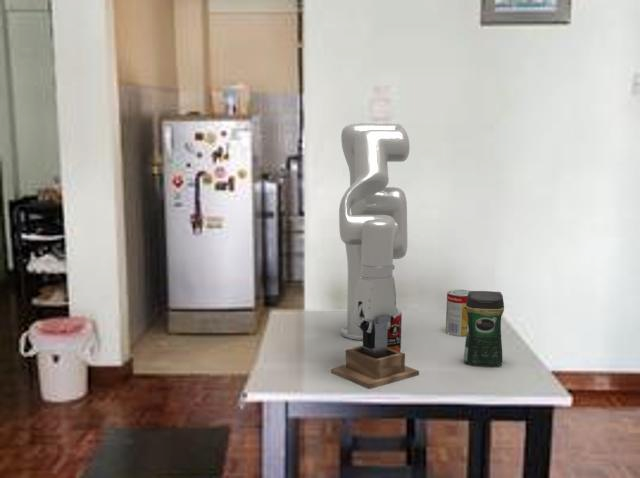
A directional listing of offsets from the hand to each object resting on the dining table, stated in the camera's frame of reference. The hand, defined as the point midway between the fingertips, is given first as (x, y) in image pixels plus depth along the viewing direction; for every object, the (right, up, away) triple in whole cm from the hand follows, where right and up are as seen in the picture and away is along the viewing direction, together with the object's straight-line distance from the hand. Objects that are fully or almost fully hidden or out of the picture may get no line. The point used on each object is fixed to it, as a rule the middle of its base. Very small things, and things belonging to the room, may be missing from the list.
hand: (375, 344), depth 180 cm
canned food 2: (+27, -2, +37) cm, 46 cm away
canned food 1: (+4, -4, +19) cm, 20 cm away
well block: (0, -7, +1) cm, 7 cm away
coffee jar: (+28, -6, +10) cm, 31 cm away
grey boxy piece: (0, -4, +1) cm, 4 cm away
